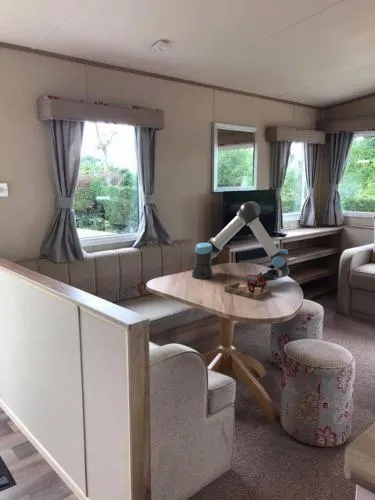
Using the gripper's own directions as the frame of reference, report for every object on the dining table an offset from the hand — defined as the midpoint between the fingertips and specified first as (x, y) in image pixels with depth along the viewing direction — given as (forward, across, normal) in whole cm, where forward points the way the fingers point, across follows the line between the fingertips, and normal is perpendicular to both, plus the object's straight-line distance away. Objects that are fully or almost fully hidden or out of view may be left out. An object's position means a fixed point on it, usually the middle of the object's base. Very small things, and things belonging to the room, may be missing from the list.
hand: (255, 280), depth 260 cm
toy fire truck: (0, +2, +7) cm, 7 cm away
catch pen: (+8, 0, +7) cm, 11 cm away
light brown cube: (+10, -4, +5) cm, 12 cm away
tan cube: (+5, +6, +7) cm, 10 cm away
